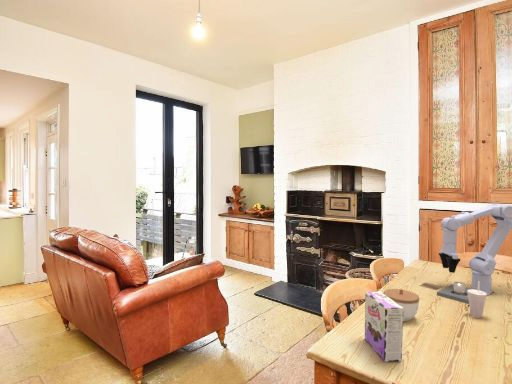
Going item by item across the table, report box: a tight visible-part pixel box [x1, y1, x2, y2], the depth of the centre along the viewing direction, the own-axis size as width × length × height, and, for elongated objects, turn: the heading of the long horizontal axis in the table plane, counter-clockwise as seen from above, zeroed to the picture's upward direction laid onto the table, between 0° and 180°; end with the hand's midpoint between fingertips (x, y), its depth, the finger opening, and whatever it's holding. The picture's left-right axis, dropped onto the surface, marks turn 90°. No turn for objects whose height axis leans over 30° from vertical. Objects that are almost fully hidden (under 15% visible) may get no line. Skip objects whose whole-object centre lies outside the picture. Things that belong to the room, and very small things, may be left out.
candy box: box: [364, 290, 404, 363], centre depth 98 cm, size 14×6×16 cm, turn 5°
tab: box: [418, 282, 443, 291], centre depth 155 cm, size 8×8×1 cm
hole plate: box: [436, 283, 487, 307], centre depth 143 cm, size 18×14×3 cm
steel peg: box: [453, 281, 466, 296], centre depth 142 cm, size 4×4×7 cm
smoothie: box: [467, 281, 488, 319], centre depth 123 cm, size 6×6×14 cm
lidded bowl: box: [383, 288, 420, 322], centre depth 122 cm, size 13×13×11 cm
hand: (448, 270), depth 151 cm, fingers open, 7 cm apart
